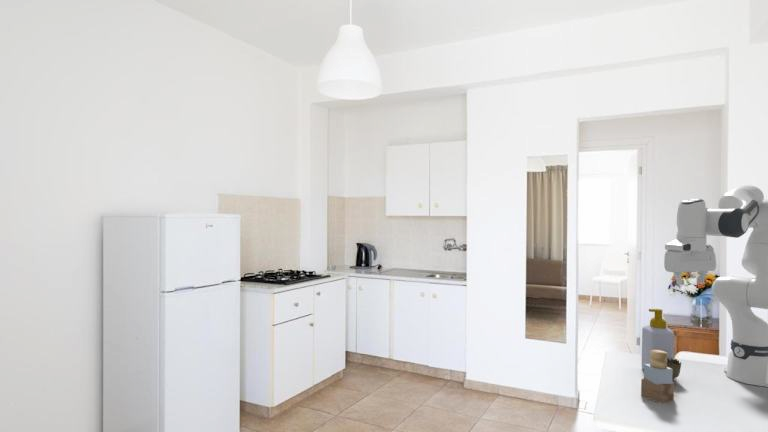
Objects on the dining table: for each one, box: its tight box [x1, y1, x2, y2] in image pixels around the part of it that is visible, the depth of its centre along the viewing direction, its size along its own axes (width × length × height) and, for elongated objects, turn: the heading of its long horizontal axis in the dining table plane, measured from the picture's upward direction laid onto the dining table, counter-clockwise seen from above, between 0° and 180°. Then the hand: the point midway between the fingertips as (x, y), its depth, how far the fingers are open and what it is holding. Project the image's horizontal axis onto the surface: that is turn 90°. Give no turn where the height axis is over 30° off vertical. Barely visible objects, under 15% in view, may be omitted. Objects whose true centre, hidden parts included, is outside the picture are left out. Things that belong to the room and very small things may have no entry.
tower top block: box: [643, 364, 673, 385], centre depth 159 cm, size 6×6×5 cm
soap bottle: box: [641, 308, 675, 370], centre depth 185 cm, size 9×9×25 cm
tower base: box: [640, 377, 675, 404], centre depth 160 cm, size 7×7×6 cm
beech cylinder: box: [650, 350, 667, 369], centre depth 159 cm, size 5×5×5 cm
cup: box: [667, 358, 682, 383], centre depth 176 cm, size 8×7×8 cm
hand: (690, 284), depth 163 cm, fingers open, 8 cm apart
